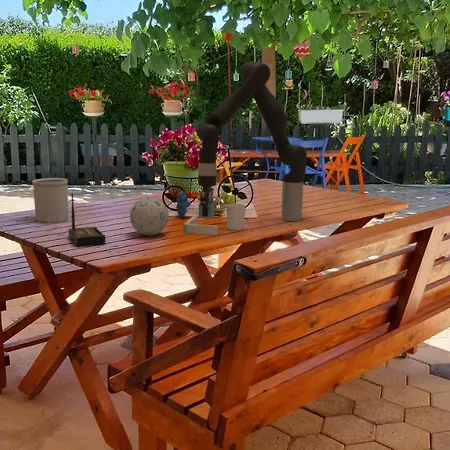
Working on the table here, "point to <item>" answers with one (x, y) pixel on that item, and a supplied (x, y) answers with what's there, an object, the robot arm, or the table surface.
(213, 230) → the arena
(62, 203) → the utensil holder
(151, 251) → the table surface
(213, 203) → the teal block
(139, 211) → the puzzle ball
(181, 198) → the grapes
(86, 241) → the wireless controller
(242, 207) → the white cup
